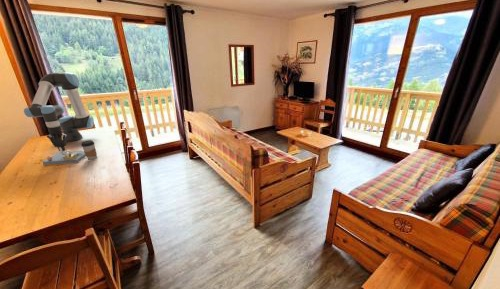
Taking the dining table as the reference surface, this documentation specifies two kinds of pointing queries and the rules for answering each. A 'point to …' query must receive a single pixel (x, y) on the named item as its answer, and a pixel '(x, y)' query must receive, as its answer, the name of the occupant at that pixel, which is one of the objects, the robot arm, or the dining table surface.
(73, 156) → the brass cover
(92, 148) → the coffee cup
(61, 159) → the board
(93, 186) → the dining table surface
